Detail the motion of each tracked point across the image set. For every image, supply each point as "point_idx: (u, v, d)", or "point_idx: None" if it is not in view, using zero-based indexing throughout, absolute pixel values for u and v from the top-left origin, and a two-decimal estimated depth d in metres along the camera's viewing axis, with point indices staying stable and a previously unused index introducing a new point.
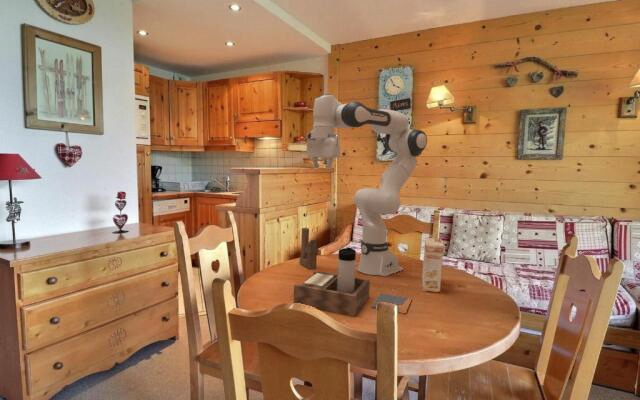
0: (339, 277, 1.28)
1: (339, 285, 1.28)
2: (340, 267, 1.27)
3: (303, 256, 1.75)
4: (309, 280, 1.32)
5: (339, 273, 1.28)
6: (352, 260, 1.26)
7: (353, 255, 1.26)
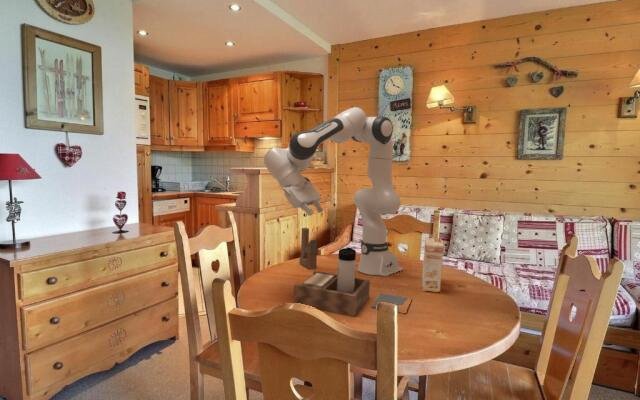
0: (339, 277, 1.28)
1: (339, 285, 1.28)
2: (340, 267, 1.27)
3: (303, 256, 1.75)
4: (309, 280, 1.32)
5: (339, 273, 1.28)
6: (352, 260, 1.26)
7: (353, 255, 1.26)
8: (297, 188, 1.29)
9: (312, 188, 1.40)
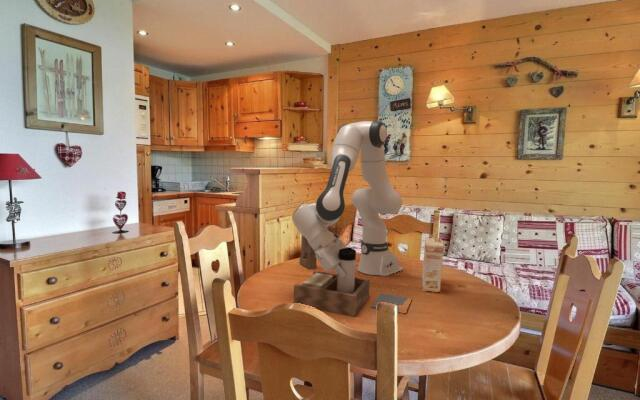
0: (339, 277, 1.28)
1: (339, 285, 1.28)
2: (340, 267, 1.27)
3: (303, 256, 1.75)
4: (308, 280, 1.32)
5: None
6: (352, 260, 1.26)
7: (353, 255, 1.27)
8: (328, 249, 1.27)
9: (341, 244, 1.38)
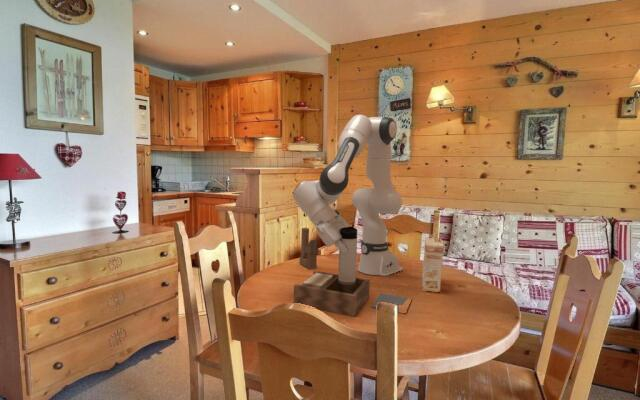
0: (341, 256, 1.27)
1: (340, 264, 1.27)
2: None
3: (303, 256, 1.75)
4: (308, 280, 1.32)
5: (341, 252, 1.27)
6: (354, 238, 1.26)
7: (355, 233, 1.26)
8: (329, 224, 1.26)
9: (342, 221, 1.37)
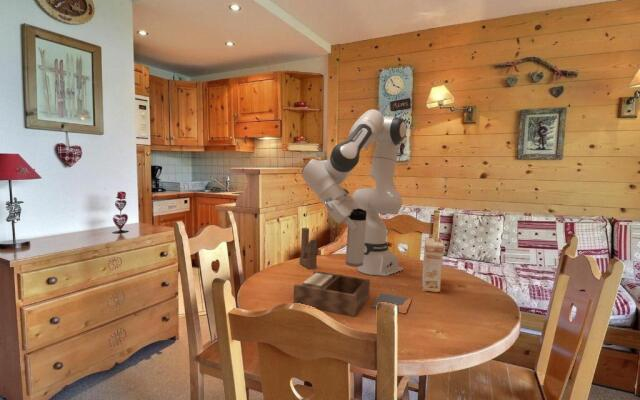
0: (349, 237, 1.27)
1: (349, 245, 1.27)
2: (350, 227, 1.26)
3: (303, 256, 1.75)
4: (308, 280, 1.32)
5: (349, 233, 1.26)
6: (363, 220, 1.25)
7: (364, 215, 1.25)
8: (338, 202, 1.25)
9: (351, 200, 1.36)
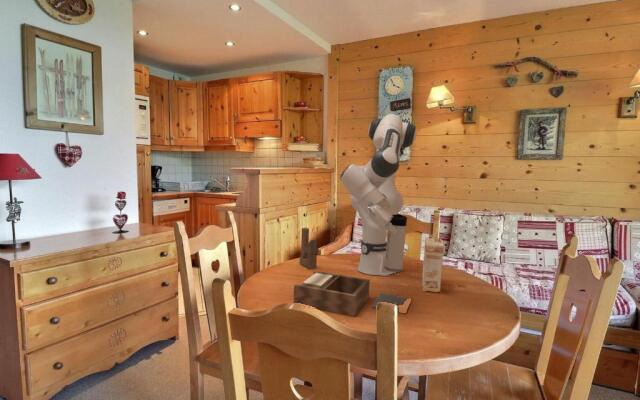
0: (390, 242, 1.27)
1: (389, 250, 1.27)
2: (391, 233, 1.26)
3: (303, 256, 1.75)
4: (308, 280, 1.32)
5: (390, 238, 1.27)
6: (404, 225, 1.26)
7: (405, 220, 1.26)
8: (379, 206, 1.26)
9: (388, 204, 1.36)
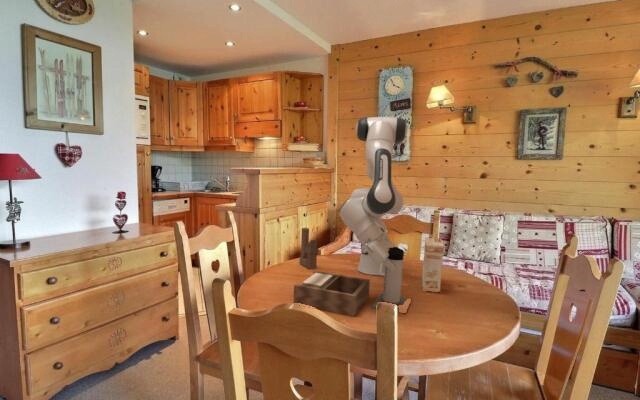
0: (387, 276, 1.28)
1: (386, 284, 1.29)
2: (388, 267, 1.28)
3: (303, 256, 1.75)
4: (308, 280, 1.32)
5: (387, 272, 1.28)
6: (401, 259, 1.27)
7: (402, 254, 1.27)
8: (377, 242, 1.27)
9: (386, 238, 1.38)
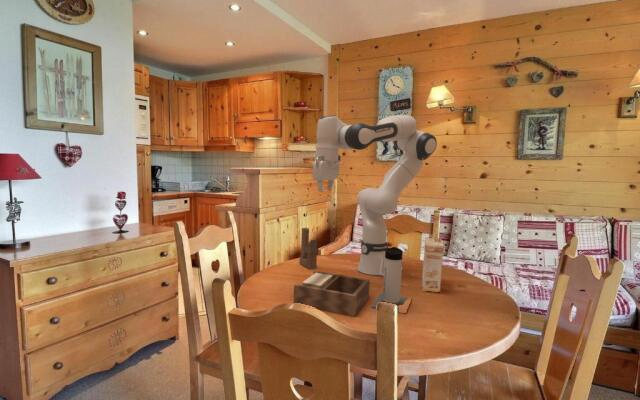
0: (386, 276, 1.28)
1: (386, 284, 1.29)
2: (387, 267, 1.28)
3: (303, 256, 1.75)
4: (308, 280, 1.32)
5: (386, 272, 1.28)
6: (400, 259, 1.27)
7: (401, 254, 1.27)
8: (326, 164, 1.39)
9: (337, 166, 1.50)
